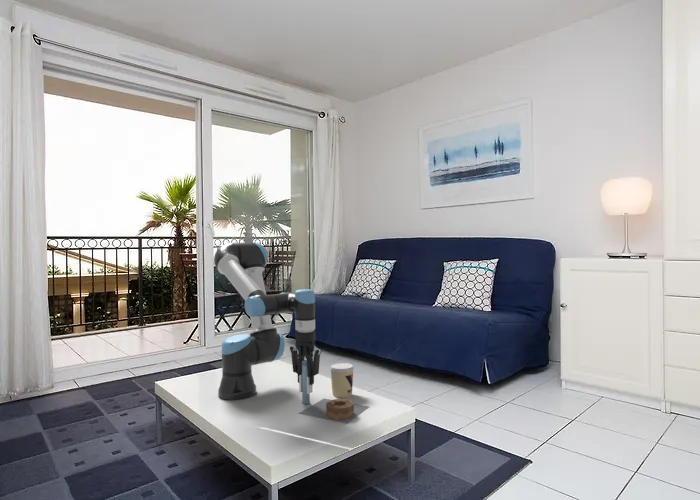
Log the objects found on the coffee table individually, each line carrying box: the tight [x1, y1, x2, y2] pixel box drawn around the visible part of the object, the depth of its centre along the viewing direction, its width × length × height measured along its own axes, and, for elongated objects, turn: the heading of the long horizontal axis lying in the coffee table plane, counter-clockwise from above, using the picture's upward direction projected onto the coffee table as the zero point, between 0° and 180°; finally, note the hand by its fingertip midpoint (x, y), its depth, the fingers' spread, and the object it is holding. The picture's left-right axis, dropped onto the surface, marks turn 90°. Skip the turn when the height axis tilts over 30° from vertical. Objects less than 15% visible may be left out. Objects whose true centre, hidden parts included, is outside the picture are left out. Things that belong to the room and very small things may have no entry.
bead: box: [326, 398, 355, 420], centre depth 154 cm, size 9×9×4 cm
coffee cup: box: [329, 362, 355, 399], centre depth 176 cm, size 9×9×12 cm
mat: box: [298, 398, 370, 424], centre depth 159 cm, size 20×17×1 cm
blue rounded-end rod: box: [301, 359, 311, 405], centre depth 166 cm, size 3×3×16 cm
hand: (305, 392), depth 166 cm, fingers closed on blue rounded-end rod, 3 cm apart
